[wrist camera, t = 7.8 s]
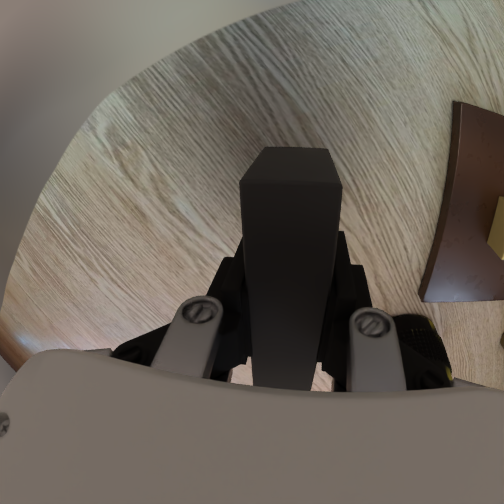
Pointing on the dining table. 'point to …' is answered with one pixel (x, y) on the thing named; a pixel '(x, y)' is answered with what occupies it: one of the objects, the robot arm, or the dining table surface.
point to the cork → (502, 341)
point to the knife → (289, 259)
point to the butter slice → (498, 230)
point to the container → (423, 340)
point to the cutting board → (468, 212)
